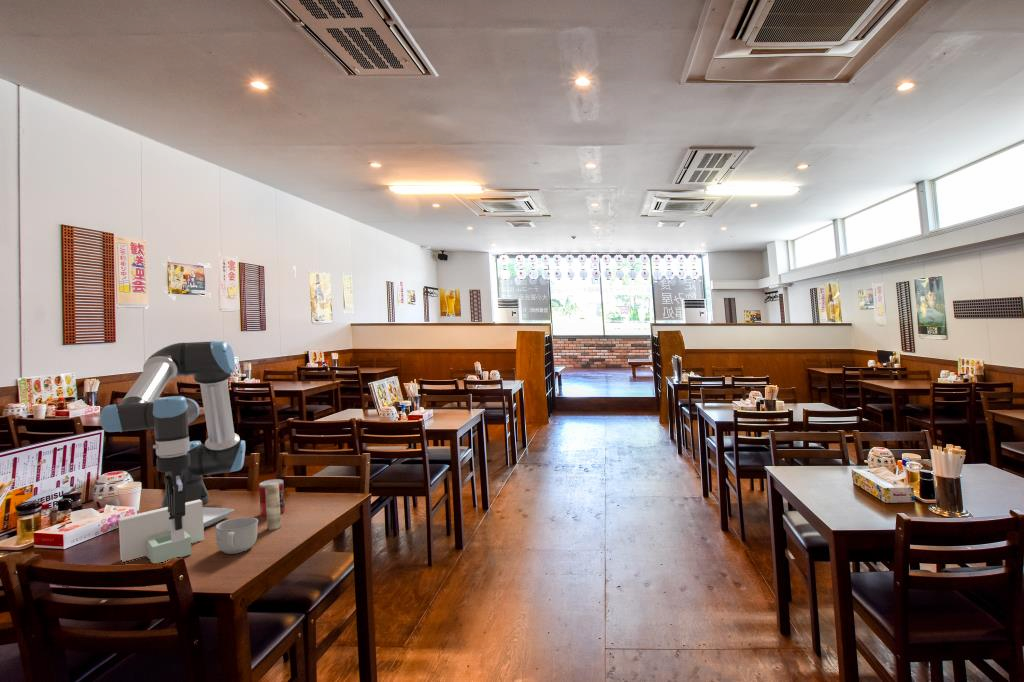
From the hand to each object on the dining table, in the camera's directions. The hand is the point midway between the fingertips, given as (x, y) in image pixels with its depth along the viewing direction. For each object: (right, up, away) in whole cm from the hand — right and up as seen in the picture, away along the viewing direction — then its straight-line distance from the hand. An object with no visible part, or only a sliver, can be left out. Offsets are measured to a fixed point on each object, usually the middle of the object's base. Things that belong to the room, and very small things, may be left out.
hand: (178, 540), depth 134 cm
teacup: (+11, -7, +8) cm, 16 cm away
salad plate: (-18, -8, +30) cm, 36 cm away
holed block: (-7, -8, +7) cm, 13 cm away
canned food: (+6, -7, +40) cm, 41 cm away
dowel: (+14, -6, +26) cm, 30 cm away
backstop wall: (-12, -8, +12) cm, 19 cm away
